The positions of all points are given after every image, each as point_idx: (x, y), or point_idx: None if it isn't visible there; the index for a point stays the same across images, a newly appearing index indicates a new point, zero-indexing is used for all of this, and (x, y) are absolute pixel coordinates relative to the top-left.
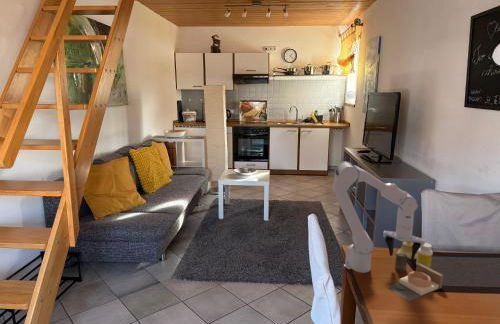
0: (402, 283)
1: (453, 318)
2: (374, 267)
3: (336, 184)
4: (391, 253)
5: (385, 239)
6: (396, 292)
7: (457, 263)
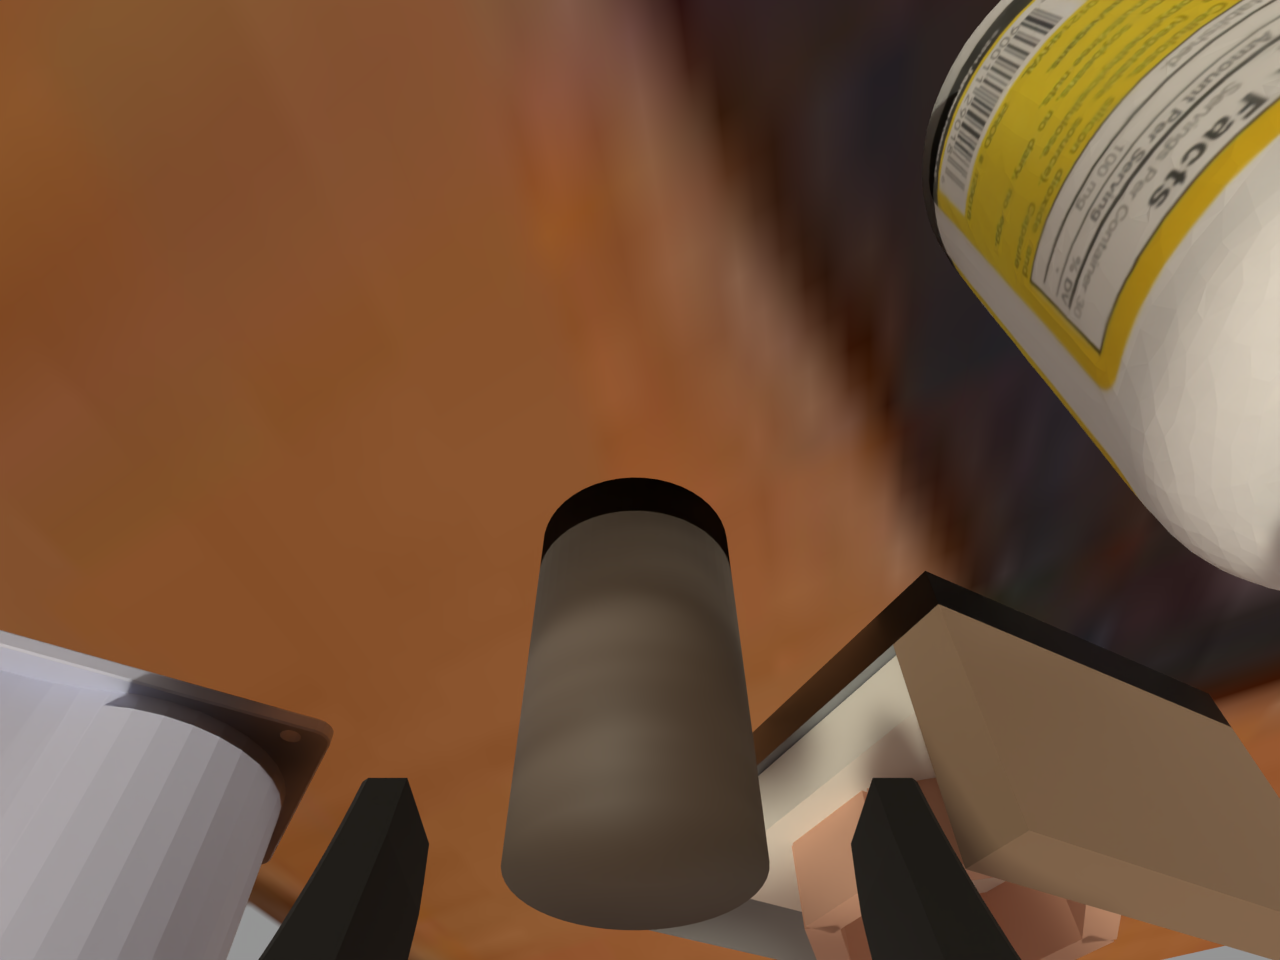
0: None
1: (1162, 936)
2: (246, 623)
3: None
4: (411, 932)
5: None
6: (701, 936)
7: None
